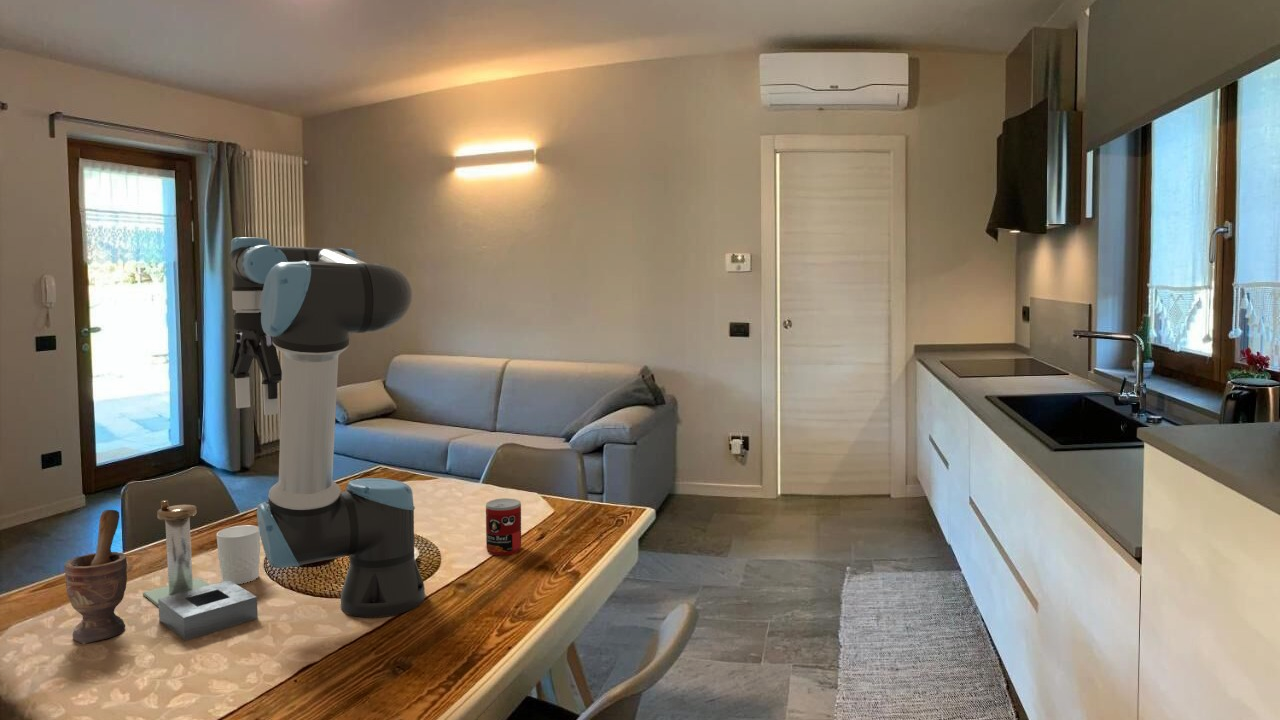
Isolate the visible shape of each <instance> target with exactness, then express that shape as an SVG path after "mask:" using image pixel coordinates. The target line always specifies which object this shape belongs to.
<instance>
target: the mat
mask: <svg viewBox="0 0 1280 720" xmlns="http://www.w3.org/2000/svg"><path fill="white" fill-rule="evenodd" d="M192 579H193V578H192ZM209 585H210V584H209V583H208V582H206V581H205V580H203V579H201V578H199V577H198V578H197V577H196V578H194V579H193V590H194V589H197V588H201V587H205V586H209ZM142 595H144V598H146V597H147V598H148V600H149V601H150V602H151V603H153V604H154V605H155V606H156V607H158V608H159V605H158V599H160V598H163V597H167V596H171V595H170V594H169V585H166V586H162V587H157V588H155V589H149V590H147V591H143V592H142ZM147 598H146V599H147Z"/></svg>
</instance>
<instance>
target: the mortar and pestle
mask: <svg viewBox="0 0 1280 720" xmlns="http://www.w3.org/2000/svg"><path fill="white" fill-rule="evenodd" d="M119 520H120V512H119V511H118V510H115V509H105V510H103V511H102V512H101V514H100V516H99V520H98V521H99V522H98V529H97V530H98V533H97V537H98V538H97V545H96V552H93V553H87V554H84V555H79V556H75V557H74V558H71V559H69V560H66V561H65V562H64V572H65V575H64V576H65V586H66V587H65V588H66V594H67V598H68V599H69V602H70V605H71V606H72V609H74V610H75V611H76V612H77V613H79V614H80V615H81V616H82V619H81V621H80V622H79V623H78V624H77V625H76V626H75V627H74V629H73V632H72V639H73V640H74V641H76V642H79V643H81V644H84V645H85V644H89V643H93V642H97V641H102V640H105V639H106V640H107V639H109V638H112V637H113V638H114V637H116V636H118V635H119V634H122V633H123V631H124V630H125V628H126V624H125V622H124V620H123V618H121V616H119V615H117V614H116V613H115V609H116V607H118V605H119V604H120V603H122V601H123V599H124V596H125V591H126V588H127V584H128V583H127V582H128V570H127V569H128V562H127V554H126V553H123V552H117V551H112V550H111V549H112V544H113V541H114V537H115V535H116V533H117V529H118V527H119V526H118V525H119V522H120V521H119Z"/></svg>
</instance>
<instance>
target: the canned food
mask: <svg viewBox="0 0 1280 720" xmlns="http://www.w3.org/2000/svg"><path fill="white" fill-rule="evenodd" d="M521 502H522V501H520V500H519V499H516V498H496V499H492V500H490V501H487V502H486V503H485V530H486V531H485V538H486V539H485V541H486V545H485V546H486V547H485V548H486V550H487V551H486V552H488V553H489V554H491V555H494V556H510V555H513V554H516V553H518V552H519V551H521V548H522V547H521V546H522V504H521Z"/></svg>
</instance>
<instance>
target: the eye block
mask: <svg viewBox="0 0 1280 720" xmlns="http://www.w3.org/2000/svg"><path fill="white" fill-rule="evenodd" d="M158 605H159V607H158V618H159V619H158V620H159V622H160V623H161V624H163V625H164V626H166V627H167V628H168V629H169V630H170V631H172V632H173V633H174V634H176V635H177V636H178V637H179V638H181V639H182V640H183V641H184V642H185V641H188V640H192V639H195V638H199V637H202V636H205V635H208V634H212V633H215V632H219V631H221V630H224V629H227V628H231V627H234V626H237V625H241V624H244V623H247V622H250V621H254V620H256V619H257V620H258V619H259V617H258V616H259V615H258V596H256V594H253V593H252V592H250V591H248V590H246V589H245V588H243V587H241V586H240V585H239V584H235V583H233V582H232V581H230V580H228V581H224V582H222V581H221V582H216V583H214V584H213V583H212V584H209V586H205V587H201V588H197V589H194V590H190V591H186V592H182V593H178V594H175V595H171V596H167V597H163V598H160V599H158Z"/></svg>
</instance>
